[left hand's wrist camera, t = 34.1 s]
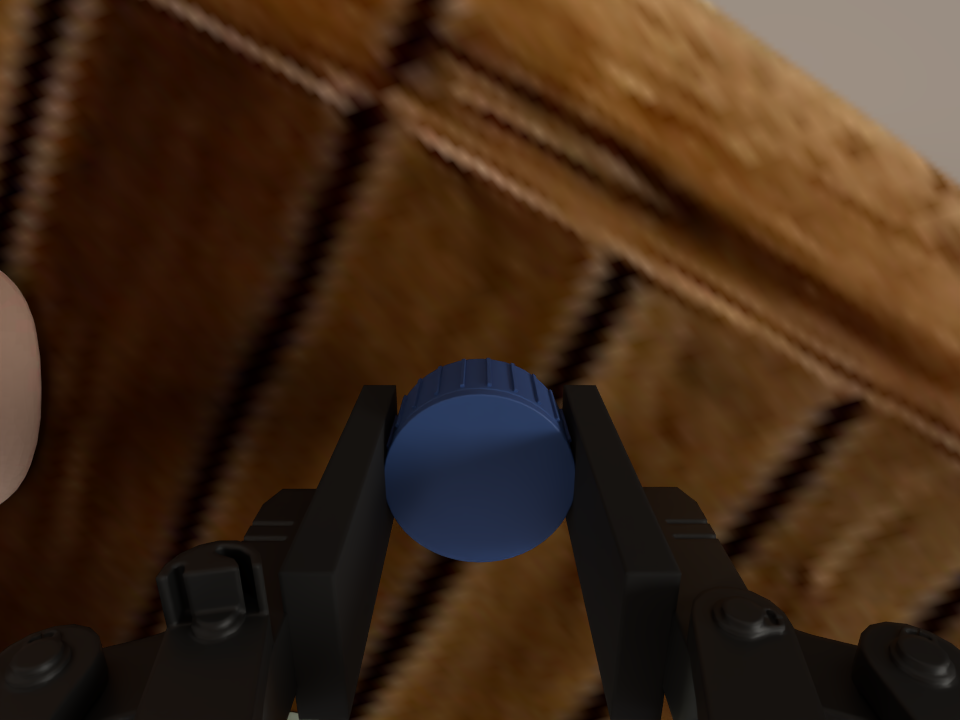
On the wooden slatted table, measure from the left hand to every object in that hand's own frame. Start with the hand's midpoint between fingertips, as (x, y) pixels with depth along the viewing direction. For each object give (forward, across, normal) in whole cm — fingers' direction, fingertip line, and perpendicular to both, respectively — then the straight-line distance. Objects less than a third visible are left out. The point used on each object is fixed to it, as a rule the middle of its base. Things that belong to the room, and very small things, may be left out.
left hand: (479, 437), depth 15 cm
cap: (-2, 0, 0) cm, 2 cm away
